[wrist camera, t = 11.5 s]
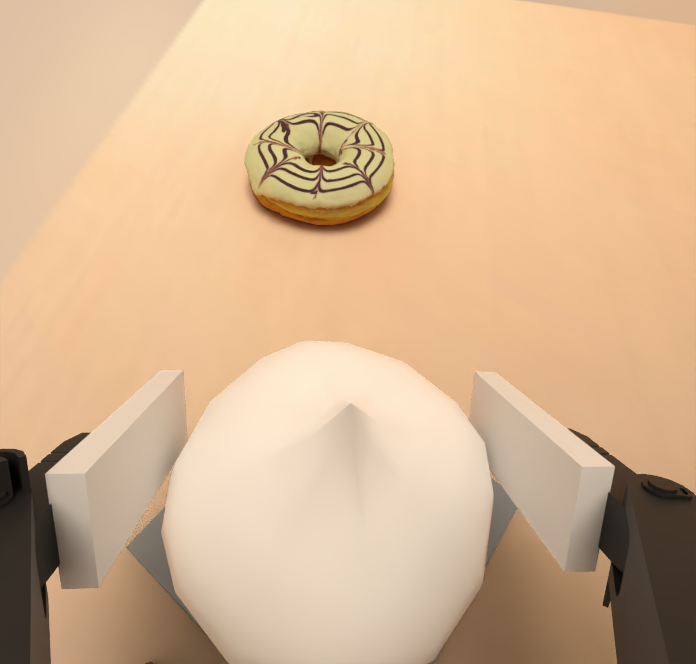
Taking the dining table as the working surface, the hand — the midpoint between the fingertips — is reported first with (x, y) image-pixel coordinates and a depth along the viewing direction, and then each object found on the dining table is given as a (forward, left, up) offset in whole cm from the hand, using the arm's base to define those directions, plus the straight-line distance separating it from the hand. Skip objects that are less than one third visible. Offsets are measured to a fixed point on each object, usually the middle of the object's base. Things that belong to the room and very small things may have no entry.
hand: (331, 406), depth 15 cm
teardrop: (+2, +2, -5) cm, 6 cm away
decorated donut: (-16, -14, -8) cm, 22 cm away
